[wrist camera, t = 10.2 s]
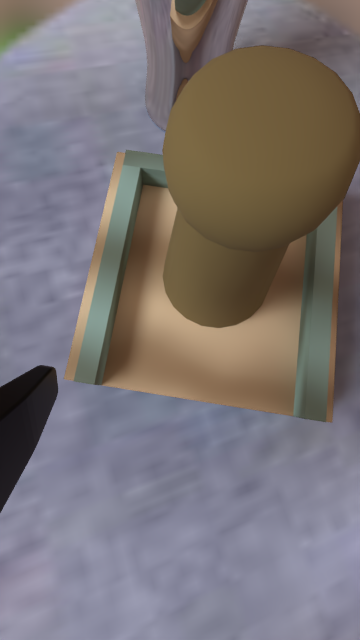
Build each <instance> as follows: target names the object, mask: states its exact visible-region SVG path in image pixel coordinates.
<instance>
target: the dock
mask: <svg viewBox="0 0 360 640" xmlns="http://www.w3.org/2000/svg"><path fill="white" fill-rule="evenodd" d="M342 207H343V200H342V201H341V203H340V204H339V205H338V206H337V207H336V208H335V209H334V210H333V211H332V212H331V213H330V215H329V216H328V217H327V218H326V219H325V220H324V221H323V222H322V223H321V224H320V225H319V226H318V227H317V228H316V229H315V230H314V231H312V232H310V233H308V234H307V235H305V236H303V237H301V238H299V239H297V240H295V241H293V242H291V243H290V244H289V246H288V248H287V251H286V253H285V255H284V257H283V259H282V262H281V264H280V266H279V268H278V271H277V273H276V275H275V277H274V279H273V282H272V284H271V286H270V288H269V291H268V293H267V295H266V297H265V299H264V302H263V304H262V306H261V307H260V308H259V309H258V310H257V311H256V312H255V313H254V314H253V315H252V316H251V317H250V318H248V319H246V320H245V321H243V322H241V323H239V324H237V325H234V326H228V327H223V328H214V327H206V326H201V325H199V324H197V323H194V322H192V321H190V320H188V319H186V318H185V317H184V316H183V315H182V314H181V313H179V312H178V311H177V310H176V309H175V308H174V307H173V305H172V303H171V302H170V300H169V298H168V296H167V294H166V293H165V287H164V282H163V271H164V264H165V259H166V255H167V250H168V246H169V242H170V238H171V233H172V229H173V225H174V221H175V216H176V212H177V206H176V204H175V203H174V201H173V199H172V197H171V194H170V192H169V190H168V185H167V180H166V175H165V170H164V163H163V155H159V154H152V153H145V152H138V151H131V150H126V153H121V152H117V155H116V160H115V164H114V168H113V172H112V177H111V181H110V185H109V189H108V194H107V198H106V202H105V206H104V211H103V215H102V219H101V223H100V228H99V232H98V236H97V240H96V245H95V249H94V253H93V257H92V262H91V266H90V270H89V274H88V279H87V283H86V287H85V291H84V296H83V300H82V304H81V308H80V313H79V317H78V321H77V325H76V330H75V334H74V338H73V342H72V347H71V351H70V355H69V359H68V364H67V368H66V372H65V376H64V379H66V380H72V381H75V382H81V383H87V384H94V385H103V386H110V387H116V388H122V389H128V390H134V391H140V392H147V393H153V394H159V395H165V396H171V397H178V398H184V399H190V400H196V401H202V402H208V403H215V404H221V405H227V406H233V407H239V408H246V409H252V410H258V411H264V412H270V413H276V414H283V415H289V416H295V417H299V418H304V419H310V420H316V421H322V422H332V417H333V396H334V375H335V354H336V333H337V312H338V291H339V270H340V249H341V228H342Z"/></svg>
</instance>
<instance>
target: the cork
mask: <svg viewBox="0 0 360 640" xmlns="http://www.w3.org/2000/svg"><path fill="white" fill-rule="evenodd" d="M162 151H163V163H164V170H165V175H166V180H167V185H168V190H169V192H170V194H171V197H172V199H173V201H174V203H175V204H176V206H177V212H176V216H175V221H174V225H173V229H172V233H171V238H170V242H169V246H168V250H167V255H166V259H165V264H164V271H163V282H164V287H165V293H166V294H167V296H168V298H169V300H170V302H171V303H172V305H173V307H174V308H175V309H176V310H177V311H178V312H179V313H181V314H182V315H183V316H184V317H185V318H186V319H188V320H190V321H192V322H194V323H197V324H199V325H201V326H206V327H214V328H223V327H228V326H234V325H237V324H239V323H241V322H243V321H245V320H246V319H248V318H250V317H251V316H252V315H253V314H254V313H255V312H256V311H257V310H258V309H259V308H260V307H261V306H262V304H263V302H264V299H265V297H266V295H267V293H268V291H269V288H270V286H271V284H272V282H273V279H274V277H275V275H276V273H277V271H278V268H279V266H280V264H281V262H282V259H283V257H284V255H285V253H286V251H287V248H288V246H289V244H290V243H291V242H293V241H295V240H297V239H299V238H301V237H303V236H305V235H307V234H308V233H310V232H312V231H314V230H315V229H316V228H317V227H318V226H319V225H320V224H321V223H322V222H323V221H324V220H325V219H326V218H327V217H328V216H329V215H330V213H331V212H332V211H333V210H334V209H335V208H336V207H337V206H338V205H339V204H340V203H341V201H342V200H343V199H344V198H345V195H346V193H347V191H348V188H349V186H350V183H351V181H352V179H353V176H354V174H355V171H356V169H357V166H358V164H359V161H360V113H359V110H358V107H357V105H356V102H355V99H354V96H353V94H352V92H351V91H350V90H349V88H348V87H347V86H346V85H345V83H344V82H343V81H342V80H341V79H340V77H339V76H338V75H337V74H336V73H335V72H334V71H332V70H331V69H330V68H328V67H327V66H325V65H324V64H322V63H321V62H320V61H318V60H317V59H315V58H313V57H311V56H308V55H305V54H303V53H300V52H297V51H295V50H292V49H289V48H280V47H272V46H263V45H262V46H254V47H247V48H239V49H235V50H232V51H230V52H228V53H225V54H223V55H220V56H218V57H216V58H213V59H212V60H211V61H209V62H208V63H207V64H206V65H205V66H203V67H202V68H201V69H200V70H199V71H197V72H196V73H195V74H194V75H193V76H192V77H191V79H190V80H189V81H188V83H187V84H186V85H185V87H184V88H183V90H182V91H181V93H180V95H179V97H178V98H177V100H176V102H175V103H174V105H173V107H172V108H171V111H170V115H169V119H168V123H167V127H166V133H165V139H164V145H163V150H162Z"/></svg>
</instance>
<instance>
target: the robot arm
mask: <svg viewBox="0 0 360 640" xmlns="http://www.w3.org/2000/svg"><path fill="white" fill-rule="evenodd" d="M57 394H58V383H57V375H56V370H55V368H54V367H50V366H44V365H39V366H37V367H35V368H33V369H31V370H30V371H28V372H26V373H24V374H23V375H21V376H19V377H17V378H15V379H14V380H12V381H10V382H8V383H7V384H5V385H3V386H1V387H0V513H1V511H2V509H3V507H4V505H5V504H6V502H7V500H8V498H9V496H10V494H11V493H12V491H13V489H14V487H15V485H16V483H17V482H18V480H19V478H20V476H21V474H22V472H23V471H24V469H25V467H26V465H27V463H28V461H29V459H30V458H31V456H32V454H33V452H34V450H35V448H36V446H37V443H38V441H39V439H40V436H41V434H42V432H43V429H44V427H45V424H46V422H47V419H48V417H49V415H50V412H51V410H52V407H53V405H54V402H55V400H56V397H57Z"/></svg>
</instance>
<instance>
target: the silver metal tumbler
mask: <svg viewBox="0 0 360 640" xmlns="http://www.w3.org/2000/svg"><path fill="white" fill-rule="evenodd" d="M135 2H136V6H137V10H138V14H139V18H140V22H141V26H142V31H143V35H144V39H145V46H146V53H147V77H146V88H145V105H146V109H147V112H148V114H149V116H150V118H151V119H152V121H153V122H154V123H155V124H156V125H157V126H158V127H159V128H161V129H162V130H164V131H166V127H167V123H168V119H169V115H170V111H171V108H172V107H173V105H174V103H175V102H176V100H177V98H178V97H179V95H180V93H181V91H182V90H183V88H184V87H185V85H186V84H187V83H188V81H189V80H190V79H191V77H192V76H193V75H194V74H195V73H196V72H197V71H199V70H200V69H201V68H202V67H203V66H205V65H206V64H207V63H208V62H209V61H211V60H212V59H213V58H216V57H218V56H220V55H223V54H225V53H228V52H230V51H232V50H233V47H234V42H235V39H236V36H237V33H238V30H239V26H240V23H241V20H242V17H243V14H244V11H245V8H246V5H247V2H248V0H135Z"/></svg>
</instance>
